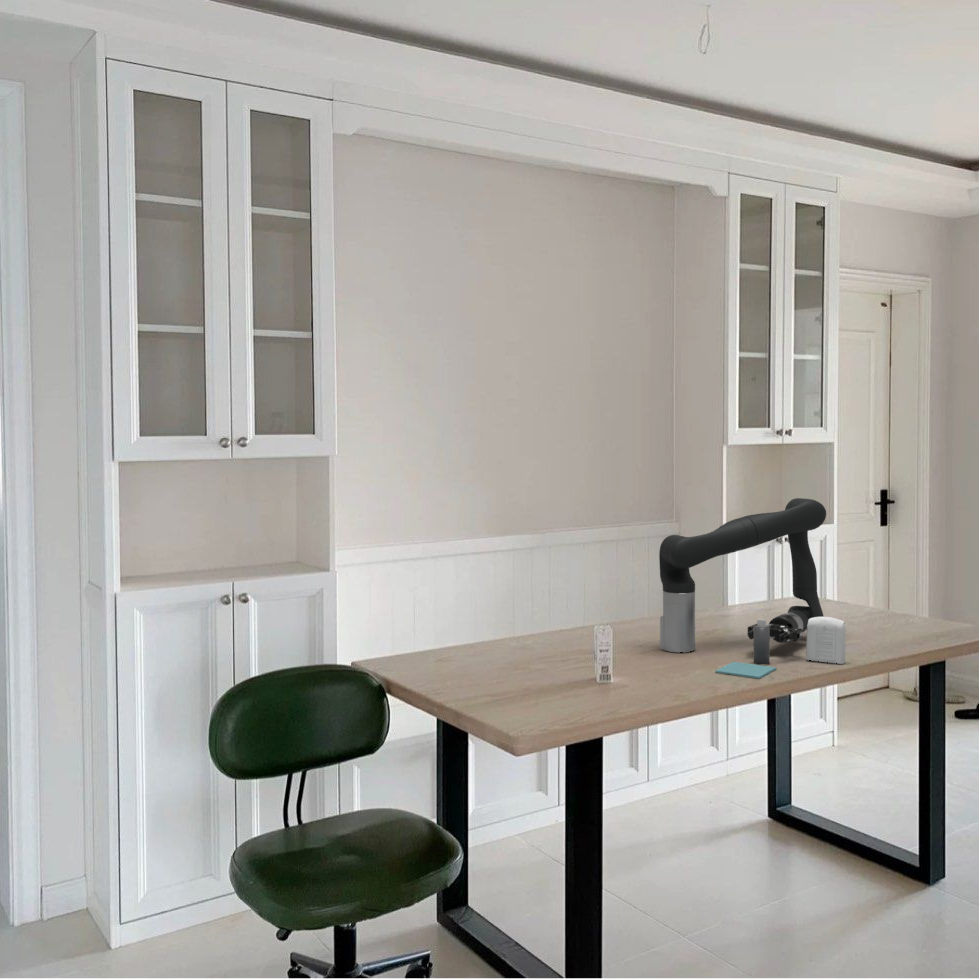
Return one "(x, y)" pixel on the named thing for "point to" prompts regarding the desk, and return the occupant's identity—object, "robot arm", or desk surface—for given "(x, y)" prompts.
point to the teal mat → (746, 670)
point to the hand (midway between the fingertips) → (765, 637)
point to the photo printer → (826, 640)
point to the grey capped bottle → (761, 642)
